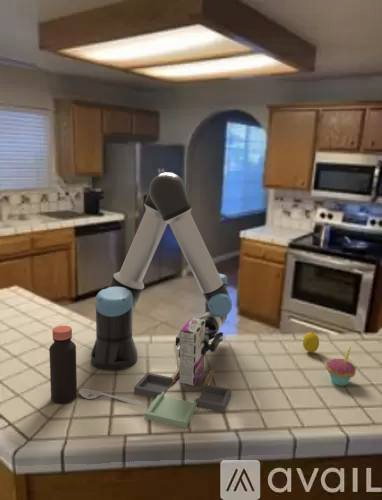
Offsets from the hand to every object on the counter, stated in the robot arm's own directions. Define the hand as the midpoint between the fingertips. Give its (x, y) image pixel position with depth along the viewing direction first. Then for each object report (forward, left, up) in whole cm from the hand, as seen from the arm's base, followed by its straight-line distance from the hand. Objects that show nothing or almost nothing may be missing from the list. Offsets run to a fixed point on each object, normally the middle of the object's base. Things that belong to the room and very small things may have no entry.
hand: (187, 355), depth 113 cm
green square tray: (0, -11, -11) cm, 16 cm away
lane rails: (0, +7, -11) cm, 13 cm away
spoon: (-17, -11, -12) cm, 24 cm away
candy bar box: (0, +5, -9) cm, 11 cm away
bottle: (-30, -15, -11) cm, 36 cm away
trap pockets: (0, -2, -11) cm, 11 cm away
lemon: (+34, +40, -11) cm, 53 cm away
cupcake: (+43, +22, -11) cm, 49 cm away
